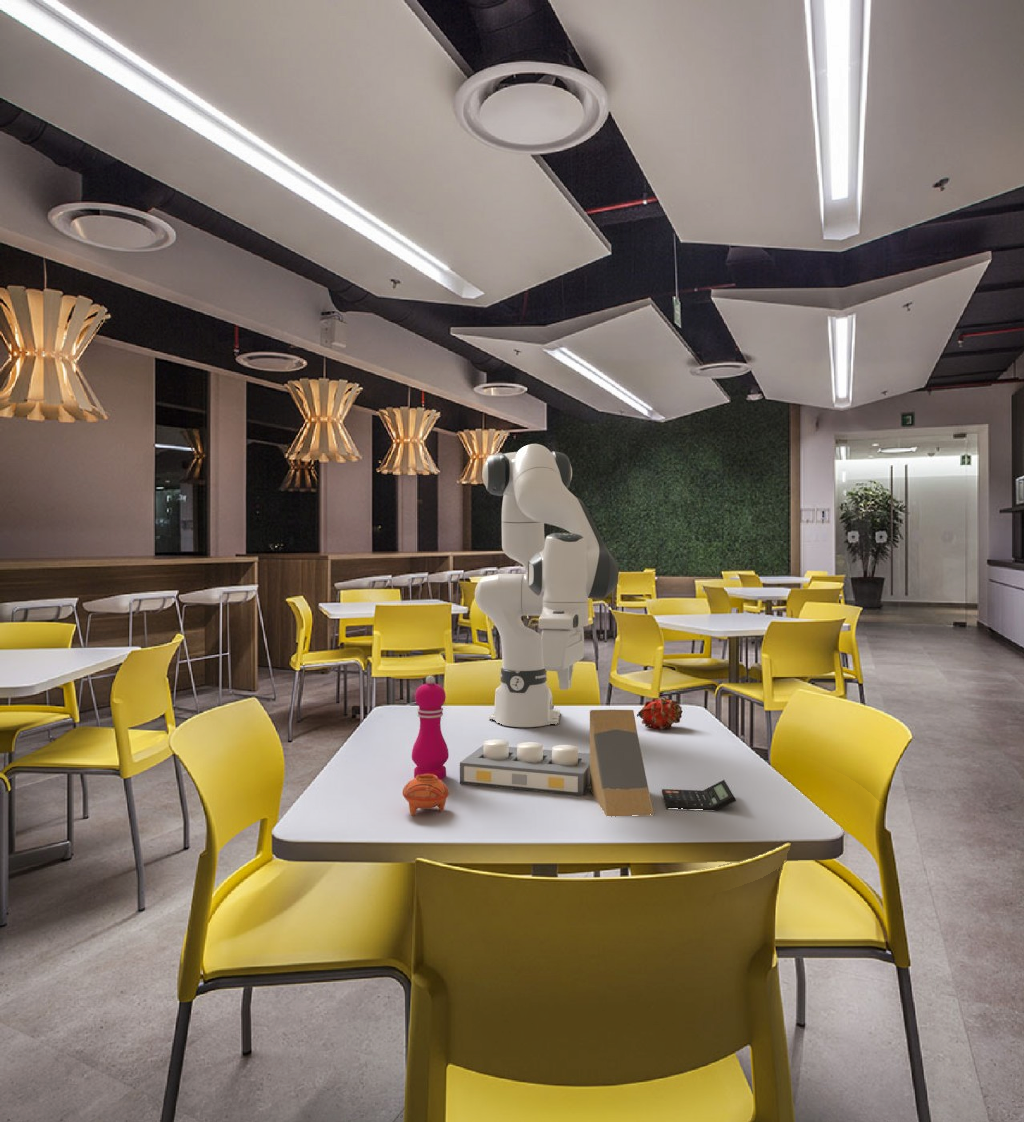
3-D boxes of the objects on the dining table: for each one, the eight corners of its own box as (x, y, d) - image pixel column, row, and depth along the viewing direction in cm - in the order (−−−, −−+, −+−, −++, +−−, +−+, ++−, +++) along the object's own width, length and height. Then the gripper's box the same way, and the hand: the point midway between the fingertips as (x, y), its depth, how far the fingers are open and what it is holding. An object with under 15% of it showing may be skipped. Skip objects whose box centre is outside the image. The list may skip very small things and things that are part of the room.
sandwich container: (605, 818, 122) (605, 728, 121) (588, 789, 137) (588, 709, 137) (656, 817, 122) (656, 727, 122) (633, 788, 137) (633, 708, 137)
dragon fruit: (687, 734, 185) (640, 742, 185) (676, 709, 192) (631, 716, 191) (689, 712, 180) (641, 719, 180) (678, 687, 187) (632, 694, 186)
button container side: (555, 765, 144) (555, 744, 144) (580, 767, 142) (580, 746, 142) (549, 772, 139) (549, 750, 139) (575, 774, 138) (575, 752, 138)
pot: (392, 806, 126) (401, 766, 127) (435, 810, 129) (443, 772, 130) (405, 819, 119) (415, 777, 119) (450, 824, 122) (458, 783, 123)
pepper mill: (416, 784, 139) (417, 679, 139) (407, 774, 145) (407, 673, 145) (453, 780, 141) (453, 677, 141) (442, 770, 148) (442, 671, 148)
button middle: (521, 762, 146) (521, 741, 146) (545, 764, 144) (545, 743, 144) (514, 769, 141) (514, 747, 141) (539, 771, 140) (539, 749, 140)
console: (483, 763, 153) (483, 744, 153) (597, 773, 146) (597, 753, 146) (458, 784, 139) (458, 763, 139) (582, 796, 132) (582, 774, 132)
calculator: (661, 793, 135) (661, 777, 135) (726, 795, 134) (726, 779, 134) (666, 811, 125) (667, 793, 125) (736, 813, 124) (736, 796, 124)
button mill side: (488, 759, 148) (488, 738, 148) (511, 761, 146) (511, 740, 146) (479, 766, 143) (480, 744, 143) (504, 768, 142) (504, 746, 142)
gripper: (561, 612, 151) (561, 679, 151) (535, 620, 132) (535, 696, 132) (591, 613, 150) (591, 680, 149) (570, 620, 130) (569, 698, 130)
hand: (565, 688), depth 140 cm, fingers closed
